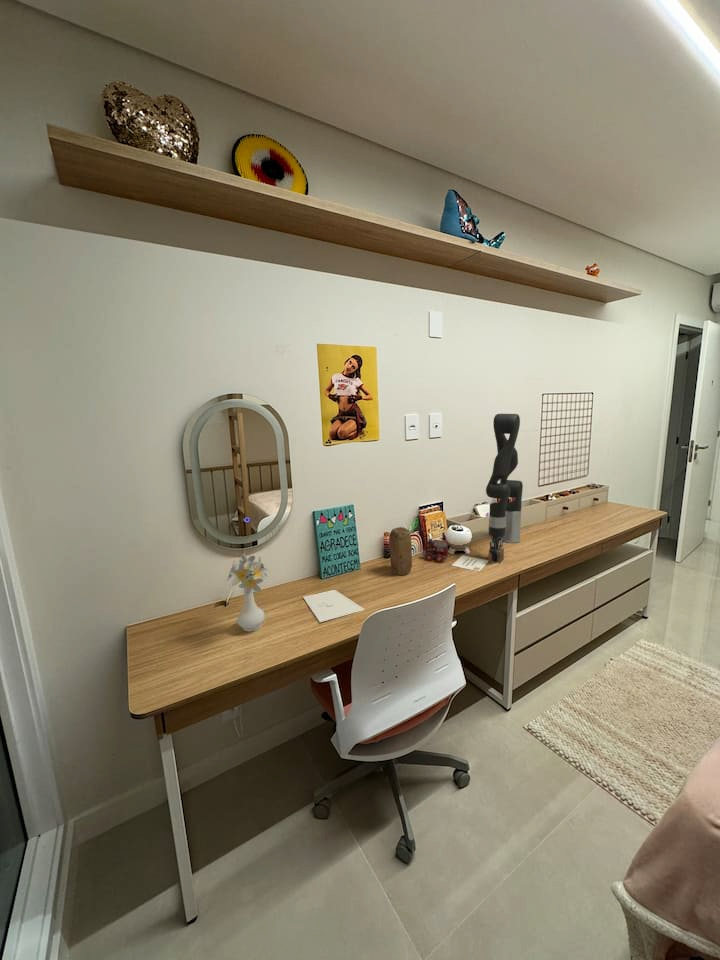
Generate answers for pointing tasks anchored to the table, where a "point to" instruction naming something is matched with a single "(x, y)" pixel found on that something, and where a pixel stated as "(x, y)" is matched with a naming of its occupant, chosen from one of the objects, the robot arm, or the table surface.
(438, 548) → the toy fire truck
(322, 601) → the paper sheet
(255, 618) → the flower vase
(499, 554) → the cube
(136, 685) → the table surface
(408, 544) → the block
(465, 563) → the letter
